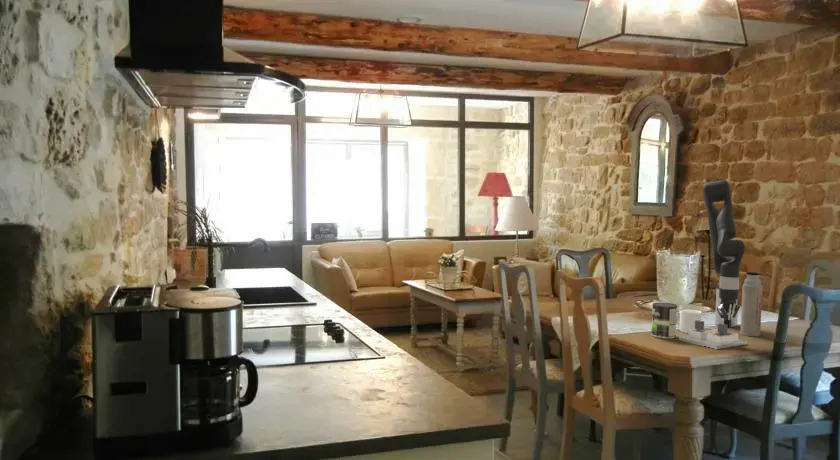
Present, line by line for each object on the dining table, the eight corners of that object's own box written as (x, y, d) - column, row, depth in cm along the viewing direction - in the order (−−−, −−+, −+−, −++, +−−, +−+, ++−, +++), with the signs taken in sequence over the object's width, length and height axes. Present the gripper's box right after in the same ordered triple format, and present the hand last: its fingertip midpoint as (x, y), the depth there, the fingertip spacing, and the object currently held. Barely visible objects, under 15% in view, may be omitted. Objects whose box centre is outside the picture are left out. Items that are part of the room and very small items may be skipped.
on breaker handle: (697, 328, 287) (698, 320, 287) (703, 329, 285) (704, 321, 284) (694, 328, 286) (695, 320, 286) (700, 330, 284) (701, 321, 283)
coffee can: (657, 338, 289) (658, 306, 288) (647, 333, 299) (648, 302, 298) (680, 338, 290) (681, 306, 289) (669, 333, 300) (670, 302, 299)
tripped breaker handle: (720, 331, 281) (721, 323, 281) (727, 333, 278) (727, 324, 278) (717, 332, 280) (718, 323, 280) (724, 333, 277) (724, 325, 277)
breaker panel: (709, 335, 296) (709, 325, 296) (746, 344, 281) (747, 333, 280) (679, 340, 286) (679, 329, 286) (716, 349, 271) (716, 338, 270)
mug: (703, 331, 304) (704, 311, 304) (695, 334, 298) (696, 314, 297) (678, 327, 313) (678, 307, 312) (669, 330, 306) (670, 310, 306)
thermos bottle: (764, 335, 298) (767, 273, 296) (752, 337, 294) (755, 274, 293) (748, 331, 305) (750, 271, 303) (736, 333, 301) (739, 271, 300)
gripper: (730, 285, 286) (729, 325, 287) (711, 287, 279) (709, 328, 280) (747, 287, 279) (745, 328, 281) (727, 289, 273) (725, 331, 274)
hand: (727, 328), depth 280 cm, fingers closed
